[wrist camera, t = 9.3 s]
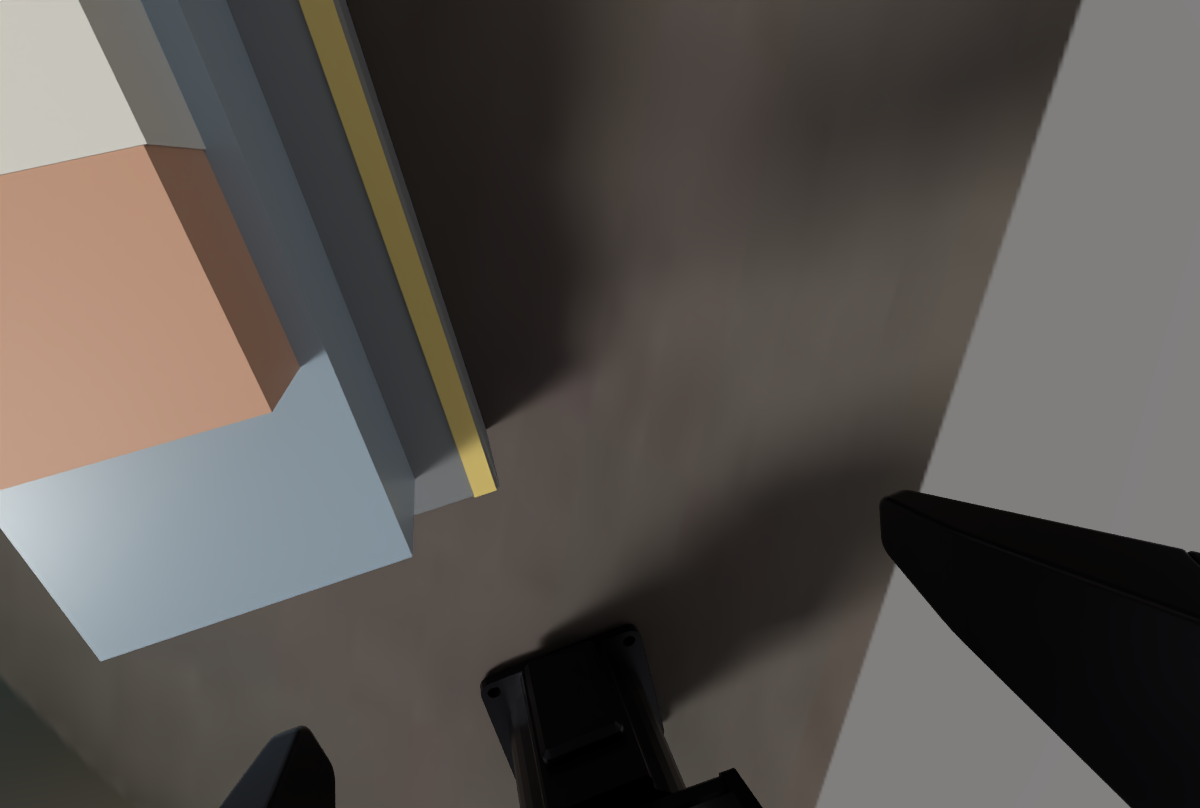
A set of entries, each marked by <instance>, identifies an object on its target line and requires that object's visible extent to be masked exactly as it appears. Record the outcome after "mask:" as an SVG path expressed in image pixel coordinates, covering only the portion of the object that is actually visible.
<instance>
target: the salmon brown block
mask: <svg viewBox="0 0 1200 808" xmlns="http://www.w3.org/2000/svg"><path fill="white" fill-rule="evenodd" d="M299 369H300V365H299V363H298V361H297V359H296V357H295V354H294V352H293V350H292V348H291V345H290V343H289V341H288V339H287V336H286V334H285V332H284V330H283V327H282V325H281V323H280V321H279V318H278V316H277V314H276V312H275V309H274V307H273V305H272V303H271V300H270V298H269V296H268V294H267V291H266V289H265V287H264V285H263V282H262V280H261V278H260V276H259V273H258V271H257V269H256V267H255V264H254V262H253V260H252V258H251V255H250V253H249V251H248V249H247V246H246V244H245V242H244V240H243V237H242V235H241V233H240V231H239V228H238V226H237V224H236V222H235V220H234V217H233V215H232V213H231V211H230V208H229V206H228V204H227V202H226V199H225V197H224V195H223V193H222V190H221V188H220V186H219V184H218V181H217V179H216V177H215V175H214V172H213V170H212V168H211V166H210V163H209V161H208V159H207V157H206V154H205V152H204V150H194V149H183V148H171V147H160V146H149V145H141V146H136V147H132V148H127V149H122V150H117V151H113V152H108V153H103V154H98V155H94V156H89V157H84V158H80V159H75V160H70V161H65V162H61V163H56V164H51V165H46V166H42V167H37V168H32V169H28V170H23V171H18V172H13V173H9V174H4V175H0V490H3V489H6V488H10V487H13V486H17V485H20V484H24V483H27V482H31V481H34V480H38V479H41V478H45V477H48V476H52V475H55V474H58V473H62V472H65V471H69V470H72V469H76V468H79V467H83V466H86V465H90V464H93V463H97V462H100V461H104V460H107V459H111V458H114V457H118V456H121V455H125V454H128V453H132V452H135V451H139V450H142V449H146V448H149V447H153V446H156V445H160V444H163V443H167V442H170V441H174V440H177V439H181V438H184V437H188V436H191V435H194V434H198V433H201V432H205V431H208V430H212V429H215V428H219V427H222V426H226V425H229V424H233V423H236V422H240V421H243V420H247V419H250V418H254V417H257V416H261V415H264V414H268V413H271V412H273V410H274V408H275V407H276V405H277V404H278V402H279V400H280V399H281V397H282V396H283V394H284V392H285V391H286V389H287V388H288V386H289V384H290V383H291V381H292V380H293V378H294V377H295V375H296V373H297V372H298V370H299Z"/></svg>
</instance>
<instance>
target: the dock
mask: <svg viewBox="0 0 1200 808" xmlns="http://www.w3.org/2000/svg"><path fill="white" fill-rule="evenodd" d="M226 1H227V3H228V6H229V9H230V11H231V14H232V16H233V19H234V21H235V24H236V26H237V29H238V31H239V34H240V36H241V39H242V42H243V44H244V47H245V49H246V52H247V54H248V57H249V59H250V62H251V64H252V67H253V69H254V72H255V75H256V77H257V80H258V82H259V85H260V87H261V90H262V92H263V95H264V97H265V100H266V102H267V105H268V107H269V110H270V113H271V115H272V118H273V120H274V123H275V125H276V128H277V130H278V133H279V135H280V138H281V140H282V143H283V146H284V148H285V151H286V153H287V156H288V158H289V161H290V163H291V166H292V168H293V171H294V173H295V176H296V179H297V181H298V184H299V186H300V189H301V191H302V194H303V196H304V199H305V201H306V204H307V206H308V209H309V211H310V214H311V217H312V219H313V222H314V224H315V227H316V229H317V232H318V234H319V237H320V239H321V242H322V244H323V247H324V250H325V252H326V255H327V257H328V260H329V262H330V265H331V267H332V270H333V272H334V275H335V277H336V280H337V283H338V285H339V288H340V290H341V293H342V295H343V298H344V300H345V303H346V305H347V308H348V310H349V313H350V316H351V318H352V321H353V323H354V326H355V328H356V331H357V333H358V336H359V338H360V341H361V343H362V346H363V348H364V351H365V354H366V356H367V359H368V361H369V364H370V366H371V369H372V371H373V374H374V376H375V379H376V381H377V384H378V387H379V389H380V392H381V394H382V397H383V399H384V402H385V404H386V407H387V409H388V412H389V414H390V417H391V420H392V422H393V425H394V427H395V430H396V432H397V435H398V437H399V440H400V442H401V445H402V447H403V450H404V452H405V455H406V458H407V460H408V463H409V465H410V468H411V470H412V473H413V475H414V478H415V493H414V515H417V514H420V513H423V512H426V511H429V510H432V509H435V508H438V507H441V506H444V505H447V504H451V503H454V502H457V501H460V500H463V499H466V498H469V497H472V496H474V497H478V496H481V495H484V494H487V493H490V492H493V491H496V488H500V486H499V482H498V478H497V474H496V469H495V465H494V461H493V457H492V453H491V448H490V444H489V440H488V436H487V431H486V428H485V425H484V422H483V419H482V416H481V413H480V410H479V407H478V404H477V401H476V398H475V394H474V391H473V388H472V385H471V382H470V379H469V376H468V373H467V370H466V367H465V364H464V361H463V358H462V355H461V352H460V349H459V346H458V343H457V339H456V336H455V333H454V330H453V327H452V324H451V321H450V318H449V315H448V312H447V309H446V306H445V303H444V300H443V297H442V294H441V291H440V288H439V284H438V281H437V278H436V275H435V272H434V269H433V266H432V263H431V260H430V257H429V254H428V251H427V248H426V245H425V242H424V239H423V236H422V233H421V229H420V226H419V223H418V220H417V217H416V214H415V211H414V208H413V205H412V202H411V199H410V196H409V193H408V190H407V187H406V184H405V181H404V178H403V174H402V171H401V168H400V165H399V162H398V159H397V156H396V153H395V150H394V147H393V144H392V141H391V138H390V135H389V132H388V129H387V126H386V122H385V119H384V116H383V113H382V110H381V107H380V104H379V101H378V98H377V95H376V92H375V89H374V86H373V83H372V80H371V77H370V74H369V71H368V67H367V64H366V61H365V58H364V55H363V52H362V49H361V46H360V43H359V40H358V37H357V34H356V31H355V28H354V25H353V22H352V19H351V16H350V12H349V9H348V6H347V3H346V0H226Z"/></svg>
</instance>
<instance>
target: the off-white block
mask: <svg viewBox="0 0 1200 808" xmlns="http://www.w3.org/2000/svg"><path fill="white" fill-rule="evenodd" d="M141 145H149V146H160V147H171V148H183V149H194V150H206V147H205V145H204V142H203V140H202V138H201V136H200V133H199V131H198V129H197V127H196V124H195V122H194V120H193V118H192V115H191V113H190V111H189V108H188V106H187V104H186V102H185V99H184V97H183V95H182V93H181V90H180V88H179V86H178V84H177V81H176V79H175V77H174V75H173V72H172V70H171V68H170V66H169V63H168V61H167V59H166V57H165V54H164V52H163V50H162V48H161V45H160V43H159V41H158V39H157V36H156V34H155V32H154V30H153V27H152V25H151V23H150V20H149V18H148V16H147V14H146V11H145V9H144V7H143V5H142V2H141V0H0V175H4V174H9V173H13V172H18V171H23V170H28V169H32V168H37V167H42V166H46V165H51V164H56V163H61V162H65V161H70V160H75V159H80V158H84V157H89V156H94V155H98V154H103V153H108V152H113V151H117V150H122V149H127V148H132V147H136V146H141Z"/></svg>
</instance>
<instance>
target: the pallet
mask: <svg viewBox="0 0 1200 808" xmlns="http://www.w3.org/2000/svg"><path fill="white" fill-rule="evenodd" d="M141 2H142V5H143V7H144V9H145V11H146V14H147V16H148V18H149V20H150V23H151V25H152V27H153V30H154V32H155V34H156V36H157V39H158V41H159V43H160V45H161V48H162V50H163V52H164V54H165V57H166V59H167V61H168V63H169V66H170V68H171V70H172V72H173V75H174V77H175V79H176V81H177V84H178V86H179V88H180V90H181V93H182V95H183V97H184V99H185V102H186V104H187V106H188V108H189V111H190V113H191V115H192V118H193V120H194V122H195V124H196V127H197V129H198V131H199V133H200V136H201V138H202V140H203V142H204V145H205V147H206V150H204V152H205V154H206V157H207V159H208V161H209V163H210V166H211V168H212V170H213V172H214V175H215V177H216V179H217V181H218V184H219V186H220V188H221V190H222V193H223V195H224V197H225V199H226V202H227V204H228V206H229V208H230V211H231V213H232V215H233V217H234V220H235V222H236V224H237V226H238V228H239V231H240V233H241V235H242V237H243V240H244V242H245V244H246V246H247V249H248V251H249V253H250V255H251V258H252V260H253V262H254V264H255V267H256V269H257V271H258V273H259V276H260V278H261V280H262V282H263V285H264V287H265V289H266V291H267V294H268V296H269V298H270V300H271V303H272V305H273V307H274V309H275V312H276V314H277V316H278V318H279V321H280V323H281V325H282V327H283V330H284V332H285V334H286V336H287V339H288V341H289V343H290V345H291V348H292V350H293V352H294V354H295V357H296V359H297V361H298V363H299V365H300V369H299V370H298V372H297V373H296V375H295V377H294V378H293V380H292V381H291V383H290V384H289V386H288V388H287V389H286V391H285V392H284V394H283V396H282V397H281V399H280V400H279V402H278V404H277V405H276V407H275V408H274V410H273V412H271V413H268V414H264V415H261V416H257V417H254V418H250V419H247V420H243V421H240V422H236V423H233V424H229V425H226V426H222V427H219V428H215V429H212V430H208V431H205V432H201V433H198V434H194V435H191V436H188V437H184V438H181V439H177V440H174V441H170V442H167V443H163V444H160V445H156V446H153V447H149V448H146V449H142V450H139V451H135V452H132V453H128V454H125V455H121V456H118V457H114V458H111V459H107V460H104V461H100V462H97V463H93V464H90V465H86V466H83V467H79V468H76V469H72V470H69V471H65V472H62V473H58V474H55V475H52V476H48V477H45V478H41V479H38V480H34V481H31V482H27V483H24V484H20V485H17V486H13V487H10V488H6V489H3V490H0V528H1V529H2V531H3V532H4V533H5V535H6V536H7V537H8V539H9V540H10V541H11V543H12V544H13V545H14V547H15V548H16V549H17V551H18V552H19V553H20V555H21V556H22V557H23V559H24V560H25V561H26V563H27V564H28V565H29V567H30V568H31V569H32V571H33V572H34V573H35V575H36V576H37V577H38V579H39V580H40V581H41V583H42V584H43V585H44V587H45V588H46V589H47V591H48V592H49V593H50V595H51V596H52V597H53V599H54V600H55V601H56V603H57V604H58V605H59V607H60V608H61V609H62V611H63V612H64V613H65V615H66V616H67V617H68V619H69V620H70V621H71V623H72V624H73V625H74V627H75V628H76V629H77V631H78V632H79V633H80V635H81V636H82V637H83V639H84V640H85V641H86V643H87V644H88V645H89V647H90V648H91V649H92V651H93V652H94V653H95V655H96V656H97V657H98V659H99V660H100V661H103V660H106V659H109V658H112V657H115V656H118V655H121V654H124V653H127V652H130V651H133V650H136V649H139V648H142V647H145V646H148V645H151V644H154V643H157V642H160V641H163V640H166V639H169V638H172V637H175V636H178V635H181V634H184V633H187V632H190V631H193V630H196V629H199V628H202V627H205V626H208V625H210V624H213V623H216V622H219V621H222V620H225V619H228V618H231V617H234V616H237V615H240V614H243V613H246V612H249V611H252V610H255V609H258V608H261V607H264V606H267V605H270V604H273V603H276V602H279V601H282V600H285V599H288V598H291V597H294V596H297V595H300V594H303V593H306V592H309V591H312V590H315V589H318V588H321V587H324V586H327V585H330V584H333V583H336V582H339V581H342V580H344V579H347V578H350V577H353V576H356V575H359V574H362V573H365V572H368V571H371V570H374V569H377V568H380V567H383V566H386V565H389V564H392V563H395V562H398V561H401V560H404V559H407V558H410V557H413V526H414V493H415V478H414V475H413V473H412V470H411V468H410V465H409V463H408V460H407V458H406V455H405V452H404V450H403V447H402V445H401V442H400V440H399V437H398V435H397V432H396V430H395V427H394V425H393V422H392V420H391V417H390V414H389V412H388V409H387V407H386V404H385V402H384V399H383V397H382V394H381V392H380V389H379V387H378V384H377V381H376V379H375V376H374V374H373V371H372V369H371V366H370V364H369V361H368V359H367V356H366V354H365V351H364V348H363V346H362V343H361V341H360V338H359V336H358V333H357V331H356V328H355V326H354V323H353V321H352V318H351V316H350V313H349V310H348V308H347V305H346V303H345V300H344V298H343V295H342V293H341V290H340V288H339V285H338V283H337V280H336V277H335V275H334V272H333V270H332V267H331V265H330V262H329V260H328V257H327V255H326V252H325V250H324V247H323V244H322V242H321V239H320V237H319V234H318V232H317V229H316V227H315V224H314V222H313V219H312V217H311V214H310V211H309V209H308V206H307V204H306V201H305V199H304V196H303V194H302V191H301V189H300V186H299V184H298V181H297V179H296V176H295V173H294V171H293V168H292V166H291V163H290V161H289V158H288V156H287V153H286V151H285V148H284V146H283V143H282V140H281V138H280V135H279V133H278V130H277V128H276V125H275V123H274V120H273V118H272V115H271V113H270V110H269V107H268V105H267V102H266V100H265V97H264V95H263V92H262V90H261V87H260V85H259V82H258V80H257V77H256V75H255V72H254V69H253V67H252V64H251V62H250V59H249V57H248V54H247V52H246V49H245V47H244V44H243V42H242V39H241V36H240V34H239V31H238V29H237V26H236V24H235V21H234V19H233V16H232V14H231V11H230V9H229V6H228V3H227V1H226V0H141Z"/></svg>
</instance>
